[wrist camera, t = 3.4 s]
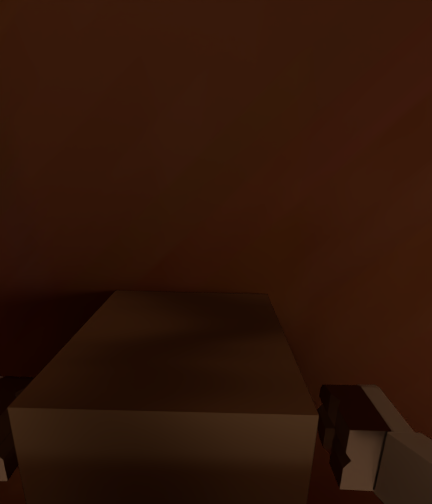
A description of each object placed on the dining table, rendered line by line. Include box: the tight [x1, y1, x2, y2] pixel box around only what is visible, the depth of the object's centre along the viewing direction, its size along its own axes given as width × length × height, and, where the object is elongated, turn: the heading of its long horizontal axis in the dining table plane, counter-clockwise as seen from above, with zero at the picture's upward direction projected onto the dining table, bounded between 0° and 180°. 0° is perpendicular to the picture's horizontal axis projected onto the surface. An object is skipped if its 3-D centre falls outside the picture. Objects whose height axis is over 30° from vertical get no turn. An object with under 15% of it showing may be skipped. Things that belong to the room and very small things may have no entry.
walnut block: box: [7, 290, 319, 504], centre depth 8 cm, size 5×5×5 cm
